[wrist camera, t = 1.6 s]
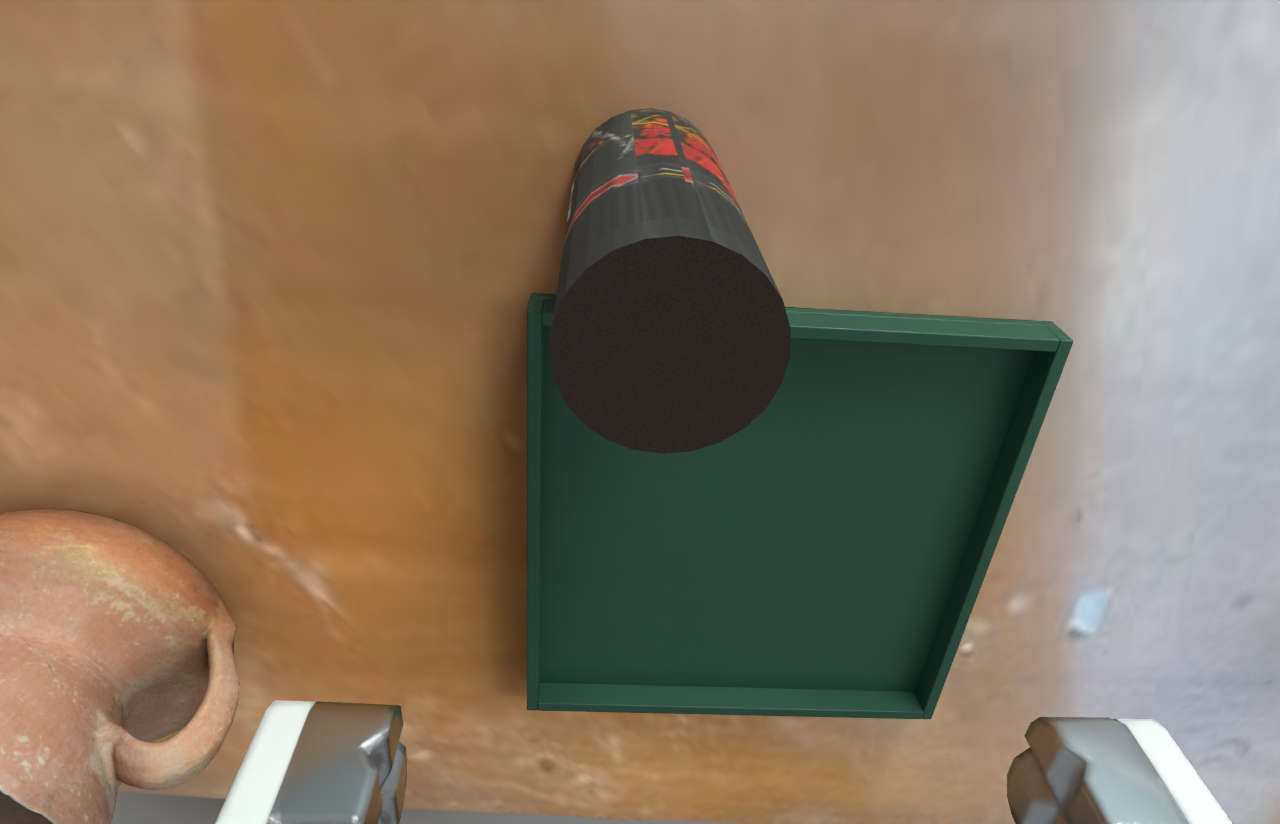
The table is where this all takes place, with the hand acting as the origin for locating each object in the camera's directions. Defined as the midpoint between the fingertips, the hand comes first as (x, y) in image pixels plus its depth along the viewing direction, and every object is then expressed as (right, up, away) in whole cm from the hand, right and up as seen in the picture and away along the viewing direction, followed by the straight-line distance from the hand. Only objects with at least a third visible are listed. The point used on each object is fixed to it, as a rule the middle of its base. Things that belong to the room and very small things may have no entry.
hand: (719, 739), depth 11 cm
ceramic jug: (-28, -5, +33) cm, 44 cm away
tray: (+5, -2, +31) cm, 32 cm away
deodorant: (-1, +13, +23) cm, 26 cm away
